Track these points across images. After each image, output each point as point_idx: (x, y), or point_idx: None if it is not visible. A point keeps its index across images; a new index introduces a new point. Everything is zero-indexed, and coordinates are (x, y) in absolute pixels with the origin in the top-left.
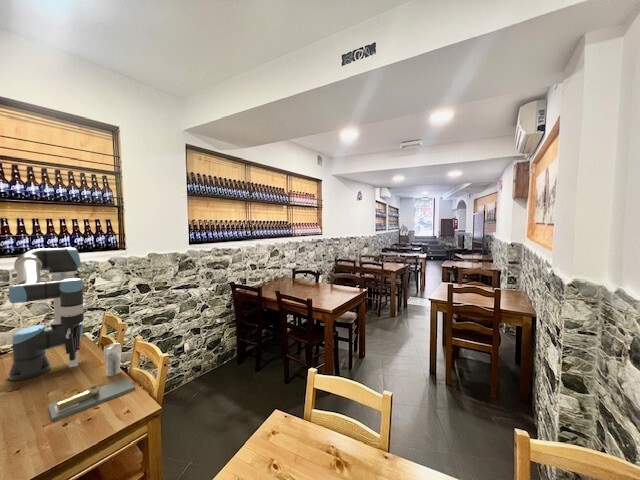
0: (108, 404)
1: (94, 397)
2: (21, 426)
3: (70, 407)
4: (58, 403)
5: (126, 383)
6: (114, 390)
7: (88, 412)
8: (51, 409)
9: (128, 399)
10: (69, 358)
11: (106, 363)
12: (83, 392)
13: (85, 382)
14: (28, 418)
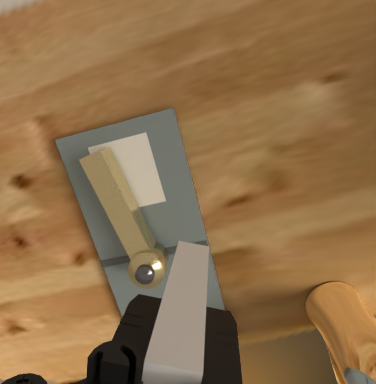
0: (83, 286)
1: None
2: (78, 40)
3: None
4: (91, 157)
5: None
6: None
7: (63, 237)
8: (126, 126)
9: (84, 333)
10: (161, 300)
11: (355, 332)
12: (140, 236)
13: (326, 213)
14: (128, 50)
